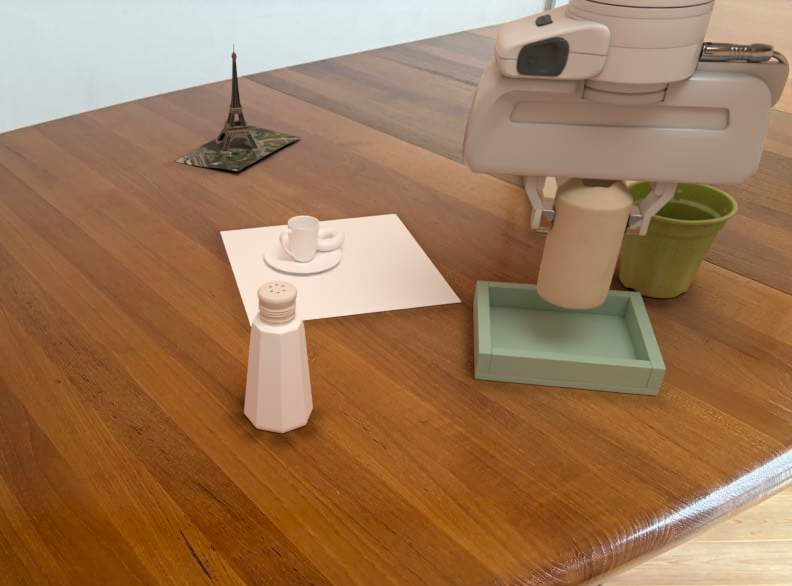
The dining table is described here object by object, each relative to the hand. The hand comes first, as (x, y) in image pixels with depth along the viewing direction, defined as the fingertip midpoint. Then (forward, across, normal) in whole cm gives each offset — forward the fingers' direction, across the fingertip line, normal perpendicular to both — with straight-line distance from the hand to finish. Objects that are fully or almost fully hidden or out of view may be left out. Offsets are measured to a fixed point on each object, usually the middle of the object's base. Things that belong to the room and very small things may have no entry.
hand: (585, 229), depth 64 cm
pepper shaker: (+11, +22, +13) cm, 28 cm away
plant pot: (+11, -10, -12) cm, 19 cm away
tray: (+11, 0, 0) cm, 11 cm away
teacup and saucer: (+11, +21, -12) cm, 27 cm away
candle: (+6, 0, 0) cm, 6 cm away
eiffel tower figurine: (+11, +37, -42) cm, 57 cm away
